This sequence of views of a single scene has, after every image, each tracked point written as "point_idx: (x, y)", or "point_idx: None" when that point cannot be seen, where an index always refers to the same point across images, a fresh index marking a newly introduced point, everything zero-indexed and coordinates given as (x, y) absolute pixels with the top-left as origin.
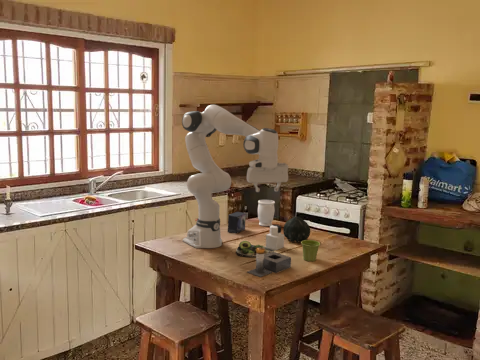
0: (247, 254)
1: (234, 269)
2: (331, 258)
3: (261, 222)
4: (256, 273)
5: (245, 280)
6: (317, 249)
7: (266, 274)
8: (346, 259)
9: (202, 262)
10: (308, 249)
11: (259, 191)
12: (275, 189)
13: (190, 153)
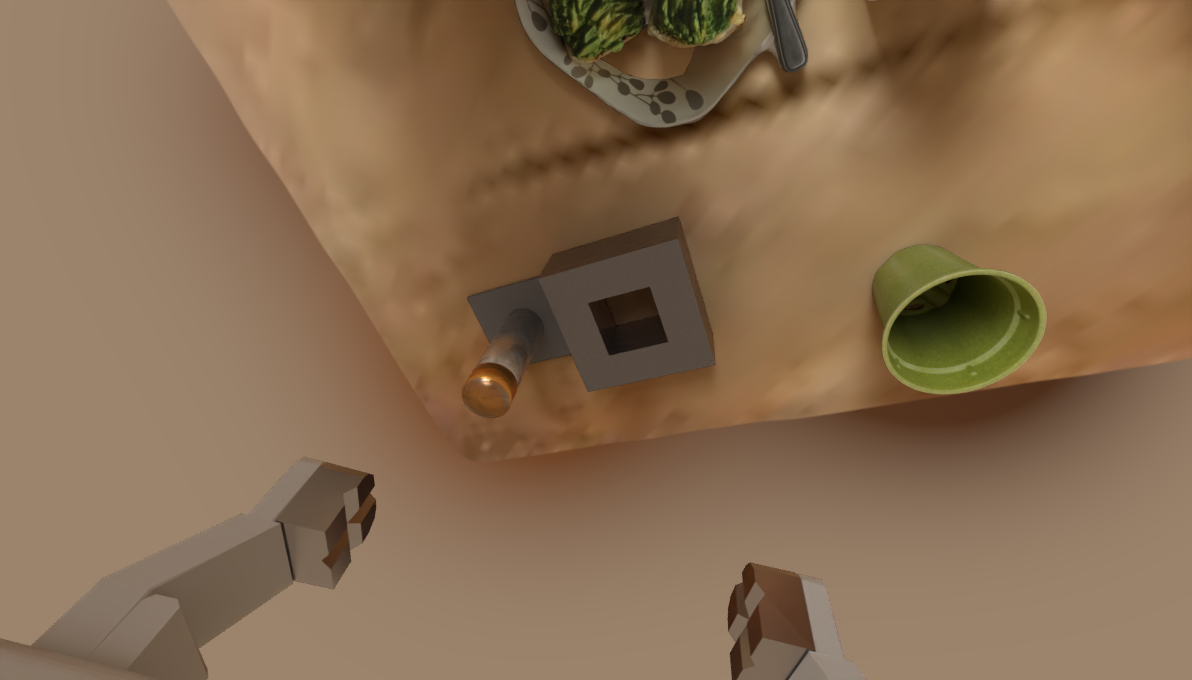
0: (570, 58)
1: (420, 235)
2: (1056, 320)
3: None
4: None
5: (430, 367)
6: (959, 358)
7: (543, 359)
8: (1118, 369)
9: (259, 47)
10: (891, 349)
11: (364, 529)
12: (737, 640)
13: None
